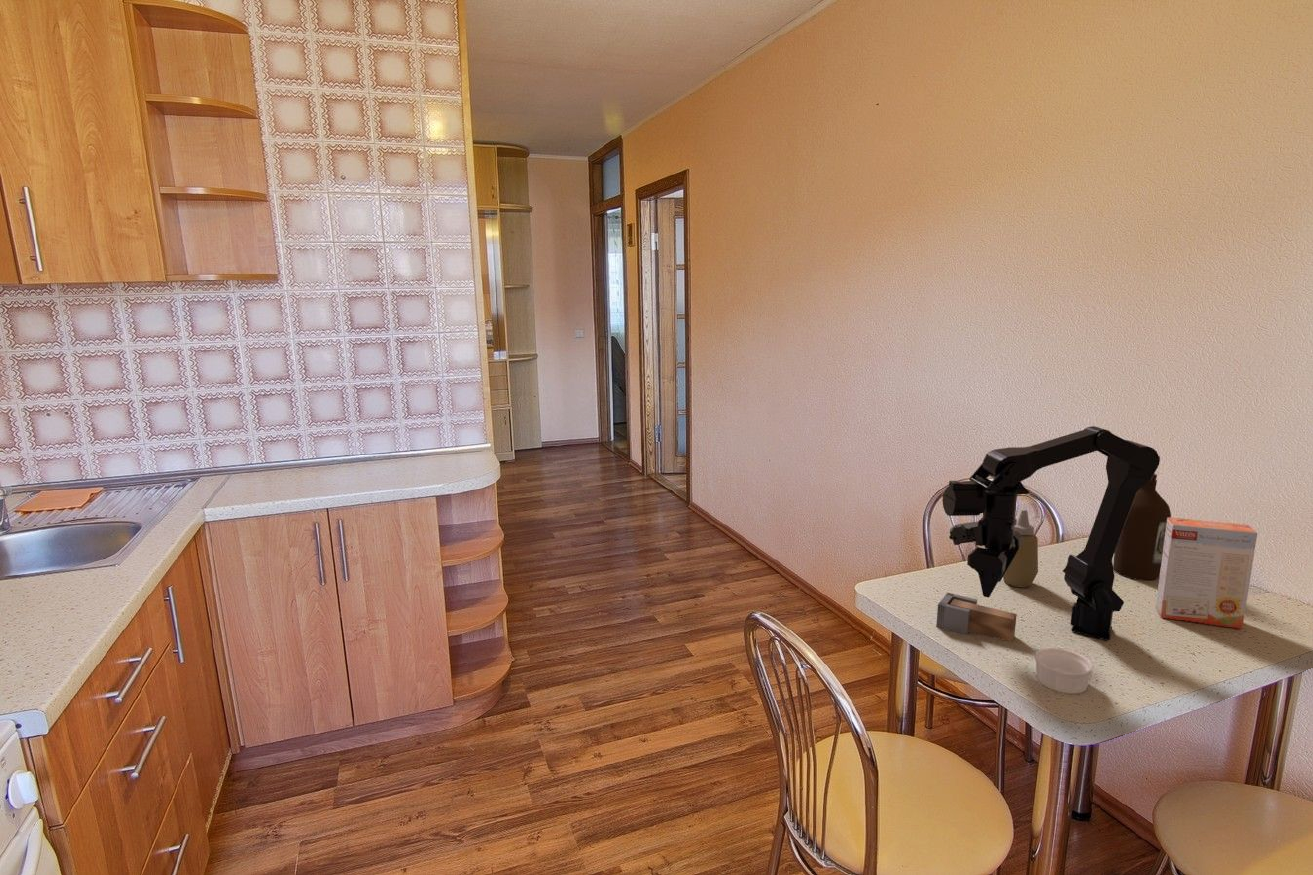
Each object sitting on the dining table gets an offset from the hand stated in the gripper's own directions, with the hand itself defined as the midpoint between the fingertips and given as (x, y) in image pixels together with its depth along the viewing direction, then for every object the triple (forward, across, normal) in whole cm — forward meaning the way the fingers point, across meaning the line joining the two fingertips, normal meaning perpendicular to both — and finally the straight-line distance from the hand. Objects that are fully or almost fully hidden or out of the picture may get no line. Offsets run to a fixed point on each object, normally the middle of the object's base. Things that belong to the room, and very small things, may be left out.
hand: (991, 588), depth 142 cm
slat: (+10, 0, -1) cm, 10 cm away
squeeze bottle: (+10, -30, 0) cm, 32 cm away
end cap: (+10, 0, -6) cm, 11 cm away
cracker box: (+10, -32, +34) cm, 48 cm away
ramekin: (+10, +12, +15) cm, 21 cm away
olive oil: (+10, -53, +22) cm, 58 cm away
